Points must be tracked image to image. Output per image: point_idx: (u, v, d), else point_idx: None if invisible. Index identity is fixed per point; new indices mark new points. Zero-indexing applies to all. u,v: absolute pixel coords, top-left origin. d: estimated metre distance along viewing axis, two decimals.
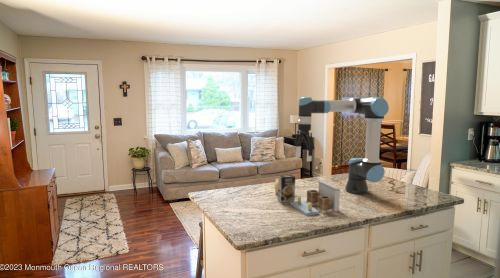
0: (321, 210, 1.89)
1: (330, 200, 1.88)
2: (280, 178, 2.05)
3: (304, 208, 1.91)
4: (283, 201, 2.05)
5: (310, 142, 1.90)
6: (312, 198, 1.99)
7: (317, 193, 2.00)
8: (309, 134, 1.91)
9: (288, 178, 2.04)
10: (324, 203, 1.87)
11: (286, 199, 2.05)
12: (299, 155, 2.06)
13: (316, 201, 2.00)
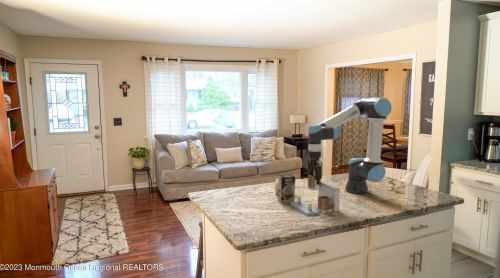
0: (321, 210, 1.89)
1: (330, 200, 1.88)
2: (280, 178, 2.05)
3: (304, 208, 1.91)
4: (283, 201, 2.05)
5: (319, 172, 1.95)
6: (313, 183, 1.98)
7: None
8: (319, 164, 1.94)
9: (288, 178, 2.04)
10: (324, 203, 1.87)
11: (286, 199, 2.05)
12: None
13: None
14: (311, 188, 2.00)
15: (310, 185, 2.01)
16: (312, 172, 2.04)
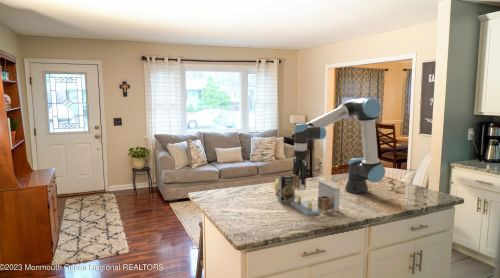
0: (321, 210, 1.89)
1: (330, 200, 1.88)
2: (280, 178, 2.05)
3: (304, 208, 1.91)
4: (283, 201, 2.05)
5: (304, 172, 1.91)
6: (298, 182, 1.95)
7: None
8: (304, 164, 1.90)
9: (288, 178, 2.04)
10: (324, 203, 1.87)
11: (286, 199, 2.05)
12: None
13: None
14: (296, 188, 1.96)
15: (295, 185, 1.97)
16: (298, 172, 2.00)
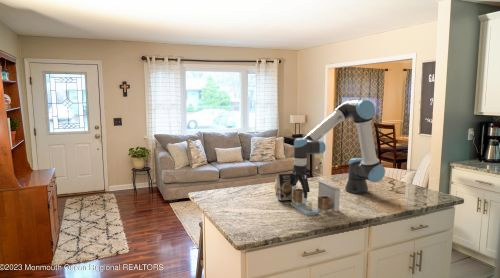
0: (321, 210, 1.89)
1: (330, 200, 1.88)
2: (278, 176, 2.09)
3: (304, 208, 1.91)
4: (283, 198, 2.05)
5: (305, 185, 1.90)
6: (298, 197, 1.96)
7: None
8: (304, 176, 1.91)
9: (286, 175, 2.07)
10: (324, 203, 1.87)
11: (285, 196, 2.06)
12: None
13: None
14: (296, 202, 1.97)
15: (295, 199, 1.98)
16: (295, 183, 2.04)
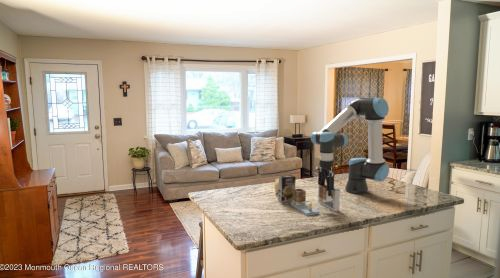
0: (322, 199, 1.88)
1: None
2: (280, 178, 2.05)
3: (304, 208, 1.91)
4: (283, 201, 2.05)
5: (331, 183, 1.83)
6: (298, 197, 1.96)
7: (303, 192, 1.97)
8: (331, 175, 1.82)
9: (288, 178, 2.04)
10: (325, 192, 1.87)
11: (286, 199, 2.05)
12: None
13: (302, 200, 1.97)
14: (296, 202, 1.97)
15: (295, 199, 1.98)
16: (323, 182, 1.92)
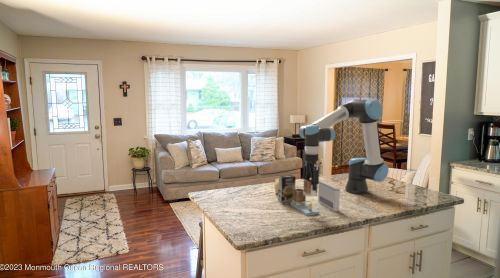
0: (307, 193, 1.84)
1: None
2: (280, 178, 2.05)
3: (304, 208, 1.91)
4: (283, 201, 2.05)
5: (315, 177, 1.79)
6: (298, 197, 1.96)
7: None
8: (316, 168, 1.78)
9: (288, 178, 2.04)
10: (310, 186, 1.83)
11: (286, 199, 2.05)
12: None
13: (302, 200, 1.97)
14: (296, 202, 1.97)
15: (295, 199, 1.98)
16: (308, 177, 1.88)
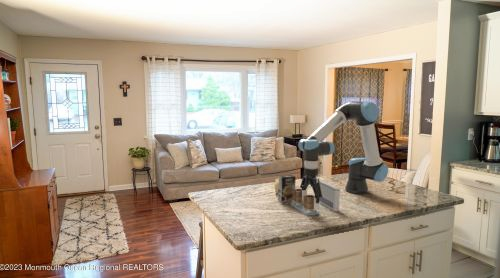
0: (306, 209, 1.85)
1: None
2: (280, 178, 2.05)
3: None
4: (283, 201, 2.05)
5: (317, 189, 1.78)
6: (298, 197, 1.96)
7: None
8: (316, 180, 1.79)
9: (288, 178, 2.04)
10: (309, 202, 1.84)
11: (286, 199, 2.05)
12: None
13: None
14: (296, 202, 1.97)
15: (295, 199, 1.98)
16: (306, 187, 1.92)
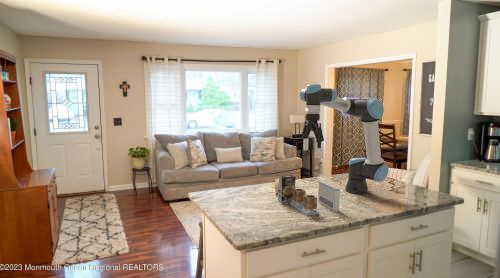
0: (306, 209, 1.85)
1: (315, 199, 1.85)
2: (280, 178, 2.05)
3: None
4: (283, 201, 2.05)
5: (319, 133, 1.74)
6: (298, 197, 1.96)
7: (303, 192, 1.97)
8: (318, 124, 1.75)
9: (288, 178, 2.04)
10: (309, 202, 1.84)
11: (286, 199, 2.05)
12: (306, 148, 1.89)
13: (302, 200, 1.97)
14: (296, 202, 1.97)
15: (295, 199, 1.98)
16: (307, 135, 1.88)
